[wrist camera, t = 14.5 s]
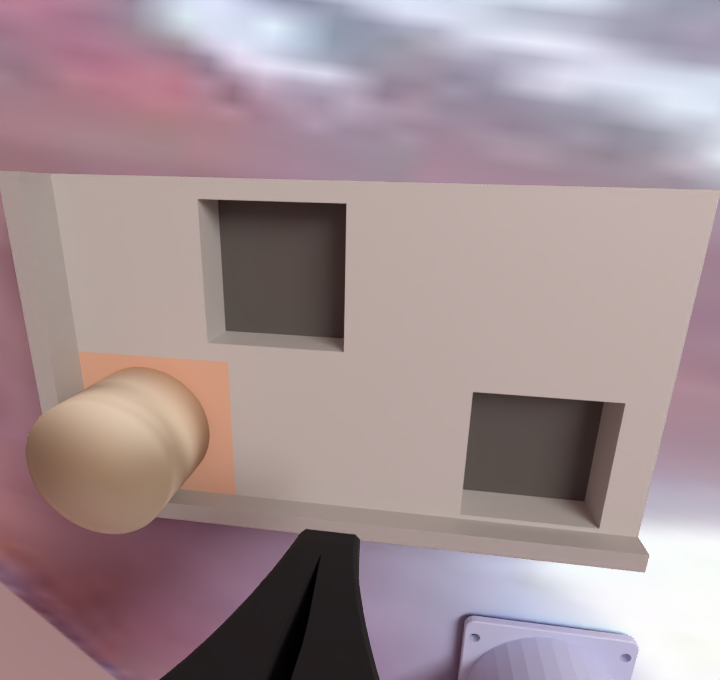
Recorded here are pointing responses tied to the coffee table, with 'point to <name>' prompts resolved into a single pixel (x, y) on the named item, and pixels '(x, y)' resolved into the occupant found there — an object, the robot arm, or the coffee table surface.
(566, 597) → the coffee table surface
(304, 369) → the trap board
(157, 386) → the beige rounded knob
